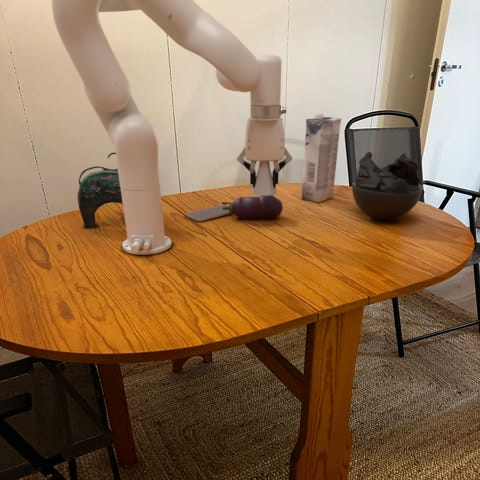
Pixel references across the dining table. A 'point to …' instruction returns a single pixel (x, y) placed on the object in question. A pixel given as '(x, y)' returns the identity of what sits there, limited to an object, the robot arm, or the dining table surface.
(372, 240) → the dining table surface
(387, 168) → the bowl of black rocks
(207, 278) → the dining table surface
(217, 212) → the smartphone
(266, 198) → the aubergine
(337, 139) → the juice carton
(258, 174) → the flask
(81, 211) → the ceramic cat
